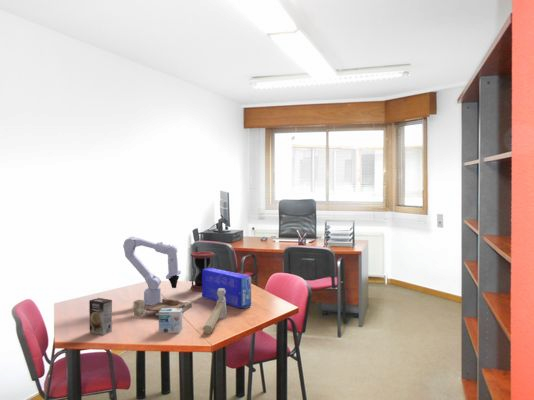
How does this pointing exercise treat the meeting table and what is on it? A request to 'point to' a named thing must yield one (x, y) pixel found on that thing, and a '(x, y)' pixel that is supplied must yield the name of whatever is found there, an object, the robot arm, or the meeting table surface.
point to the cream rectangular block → (138, 307)
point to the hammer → (216, 312)
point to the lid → (165, 305)
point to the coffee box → (100, 316)
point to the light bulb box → (170, 320)
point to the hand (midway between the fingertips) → (174, 287)
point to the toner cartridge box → (227, 286)
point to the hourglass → (200, 267)
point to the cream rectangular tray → (186, 307)
